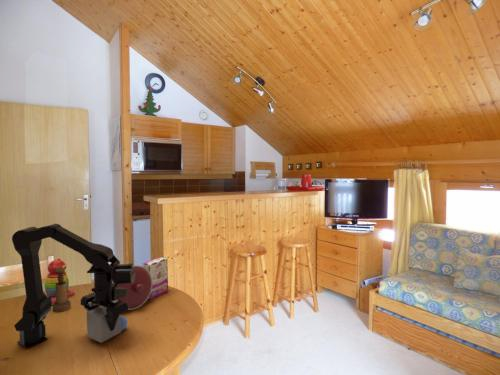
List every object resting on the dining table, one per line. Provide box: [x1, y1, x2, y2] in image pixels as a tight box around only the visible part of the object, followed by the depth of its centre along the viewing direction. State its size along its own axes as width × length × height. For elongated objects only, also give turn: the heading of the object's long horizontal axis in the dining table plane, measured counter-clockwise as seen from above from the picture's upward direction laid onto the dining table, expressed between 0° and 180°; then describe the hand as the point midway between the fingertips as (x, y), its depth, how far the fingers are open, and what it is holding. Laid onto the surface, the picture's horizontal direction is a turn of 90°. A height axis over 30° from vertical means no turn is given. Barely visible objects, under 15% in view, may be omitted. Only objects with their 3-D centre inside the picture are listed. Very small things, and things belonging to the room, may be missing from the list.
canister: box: [112, 265, 152, 311], centre depth 134 cm, size 18×18×21 cm
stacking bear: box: [44, 258, 75, 304], centre depth 139 cm, size 11×10×18 cm
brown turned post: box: [52, 267, 72, 313], centre depth 129 cm, size 7×6×18 cm
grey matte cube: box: [86, 306, 122, 344], centre depth 107 cm, size 8×8×9 cm
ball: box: [121, 315, 128, 332], centre depth 113 cm, size 5×5×5 cm
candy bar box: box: [142, 256, 169, 300], centre depth 144 cm, size 11×5×16 cm, turn 148°
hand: (104, 327), depth 107 cm, fingers closed on grey matte cube, 8 cm apart
